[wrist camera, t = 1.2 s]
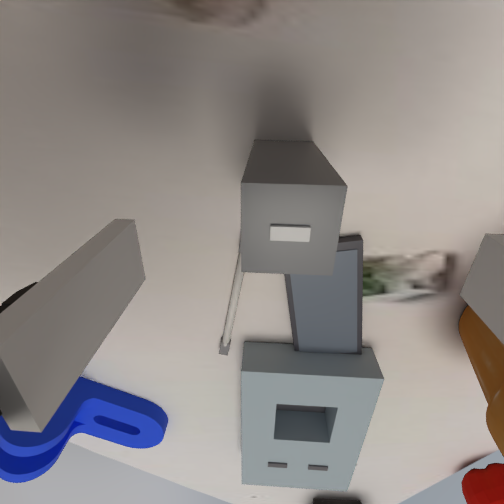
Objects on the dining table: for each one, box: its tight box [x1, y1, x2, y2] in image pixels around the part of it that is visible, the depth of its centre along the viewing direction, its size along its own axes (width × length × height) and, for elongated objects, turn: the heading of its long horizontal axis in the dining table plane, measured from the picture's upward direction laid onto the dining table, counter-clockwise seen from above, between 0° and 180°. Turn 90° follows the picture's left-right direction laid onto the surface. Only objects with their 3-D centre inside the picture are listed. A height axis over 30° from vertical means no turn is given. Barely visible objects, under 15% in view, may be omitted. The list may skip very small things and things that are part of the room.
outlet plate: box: [241, 342, 384, 491], centre depth 37 cm, size 14×22×4 cm, turn 179°
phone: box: [285, 235, 363, 355], centre depth 30 cm, size 7×14×1 cm, turn 9°
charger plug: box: [241, 140, 347, 276], centre depth 19 cm, size 4×4×12 cm
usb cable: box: [219, 242, 244, 355], centre depth 30 cm, size 15×1×1 cm, turn 169°
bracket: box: [0, 376, 168, 483], centre depth 37 cm, size 18×8×9 cm, turn 63°
